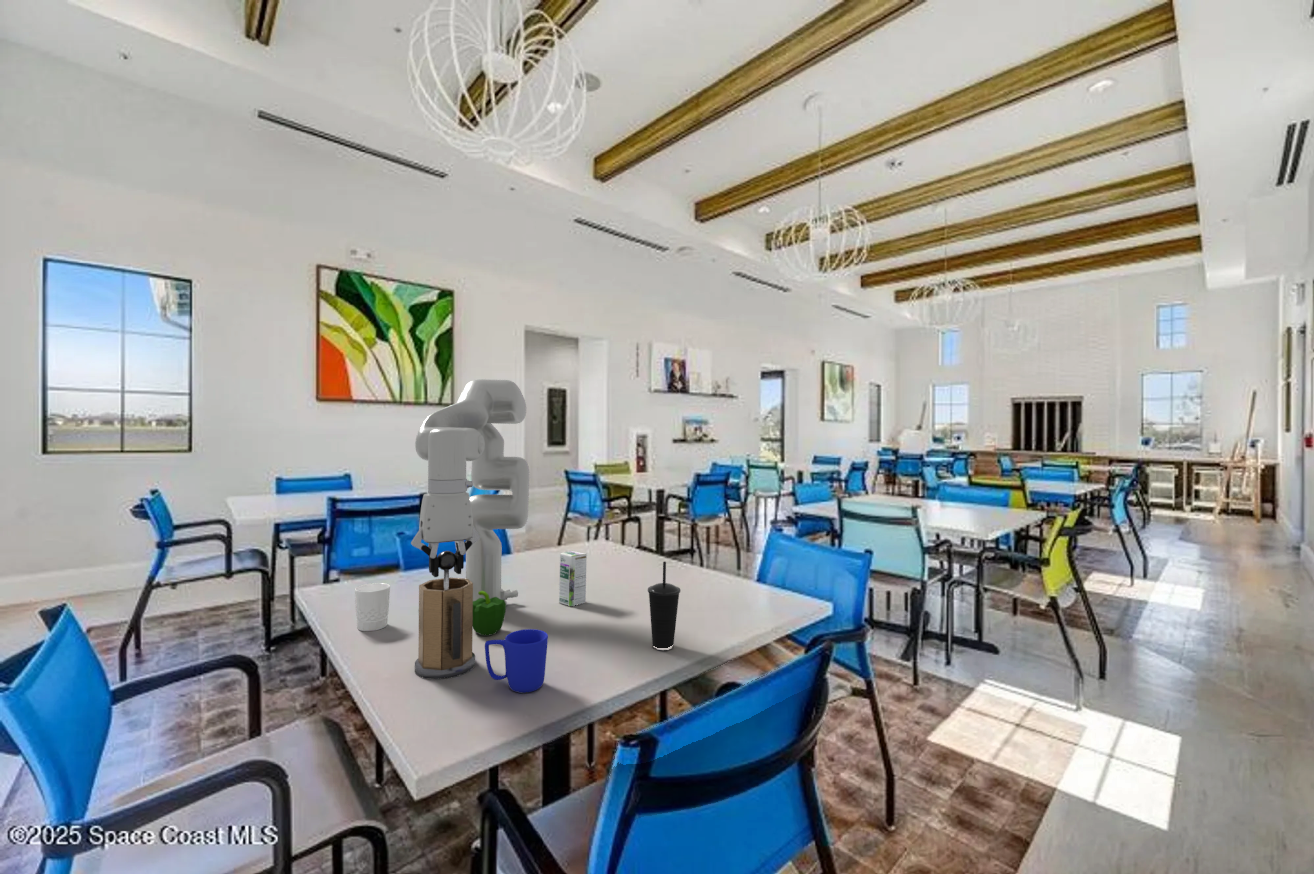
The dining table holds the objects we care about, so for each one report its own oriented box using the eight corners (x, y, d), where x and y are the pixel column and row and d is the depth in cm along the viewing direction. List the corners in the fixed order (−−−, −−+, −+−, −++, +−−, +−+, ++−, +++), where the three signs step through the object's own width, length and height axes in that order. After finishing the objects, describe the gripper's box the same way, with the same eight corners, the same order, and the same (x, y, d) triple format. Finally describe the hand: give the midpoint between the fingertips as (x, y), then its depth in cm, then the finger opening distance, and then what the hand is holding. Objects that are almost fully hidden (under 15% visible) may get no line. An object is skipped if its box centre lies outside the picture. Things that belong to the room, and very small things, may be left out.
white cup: (375, 633, 139) (375, 592, 138) (347, 630, 140) (347, 590, 140) (396, 622, 146) (396, 584, 146) (369, 620, 148) (369, 581, 148)
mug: (489, 678, 115) (489, 629, 115) (549, 677, 116) (550, 628, 116) (479, 697, 107) (480, 644, 107) (545, 696, 108) (545, 643, 108)
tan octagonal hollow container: (465, 651, 129) (466, 573, 128) (486, 673, 117) (487, 589, 117) (409, 662, 122) (409, 581, 122) (424, 688, 110) (425, 598, 110)
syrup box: (558, 603, 165) (558, 553, 164) (573, 598, 169) (574, 549, 169) (571, 607, 161) (571, 556, 161) (586, 602, 165) (587, 552, 165)
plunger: (458, 629, 126) (459, 545, 125) (469, 640, 119) (470, 552, 119) (422, 636, 121) (423, 549, 121) (431, 648, 115) (432, 556, 115)
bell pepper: (511, 632, 141) (512, 592, 140) (480, 641, 135) (481, 599, 135) (494, 623, 147) (494, 585, 146) (464, 631, 141) (464, 591, 141)
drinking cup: (655, 655, 128) (657, 567, 127) (641, 643, 135) (642, 559, 134) (685, 650, 131) (687, 563, 131) (669, 638, 138) (671, 556, 138)
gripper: (481, 484, 128) (480, 565, 128) (400, 487, 118) (399, 575, 118) (492, 487, 121) (491, 572, 122) (408, 491, 112) (407, 584, 112)
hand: (446, 573), depth 120 cm, fingers closed on plunger, 4 cm apart
